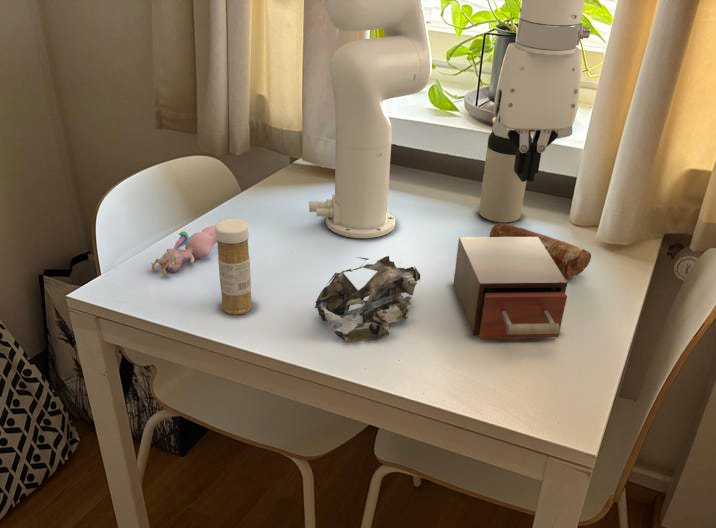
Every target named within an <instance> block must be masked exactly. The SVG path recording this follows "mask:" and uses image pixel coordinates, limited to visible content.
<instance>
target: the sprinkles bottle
mask: <svg viewBox="0 0 716 528" xmlns="http://www.w3.org/2000/svg"><path fill="white" fill-rule="evenodd" d="M248 224H249V223H247V221H245V220H242V219H239V218H226V219H222V220H220V221H218V222H216V223H215V225H214V226H215V237H216V239H217V240H216V241H217V243H216V244H217V262H218V274H219V286H220V293H221V309H222V311H224V312H225V313H227V314H228V315H229V314H230V315H236V316H237V315H244V314H246V313H248V312H250V311H251V310H252V308H253V302H252V275H251V259H250V251H249V237H250V232H249V225H248Z"/></svg>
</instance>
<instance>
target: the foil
mask: <svg viewBox="0 0 716 528" xmlns="http://www.w3.org/2000/svg"><path fill="white" fill-rule="evenodd" d="M356 258H358V259H361V260H364V261H365V262H362V264H361V265H360V266H359V267H356V268H353V269H351V268H349V269H348V268H347V269H346V270H342V271H341V272H334V273H333V275H332V276H331V278H330V279H329V280H328V282H327V284H326V285H325V286H324V287H323V288H322V290H321V291H320V293H319V295H318V297H317V299H316V301H315V305H314V309H317V311H318V316H319V318H320V319H321V320H322V321H326V320H327V322H328V323H329V326H330V327H331V329H332V330H333V331H334V334H335V335H336V336H337V337H339V338H341V339H342V340H343V341H344V342H345V343H353V342H358V341H365V340H373V339H380V338H383V337H385V336H387V335H390V332H389V324H391V323H395V322H396V323H397V322H403V321H407V320H408V319H409V314H410V313H409V306H410V305H412V303H411V300H412V296H414V291H415V288H416V285H418V282H419V281H420V280H421V273H420V272H419V270H418V269H417V267H416V266H415V265H413V266H410V267H407V268H405V267H397V266H396V264H395V261H391V259H390V256H389V255H386V256H384V257H382V258H381V259H379V260H376V262H375V263H371V264H370V263H367V264H365V263H366V261H368V260H369V258H368V257H367V258H365V257H359V256H358V257H357V256H356ZM364 264H365V265H364ZM359 269H366V270H370V271H374V272H375V273H374V275H372V277H371V278H370V279H369V280H368V281H367V282H366V284H364V285H363V286H362V287H361V288H360V289H358V288H357V287H356V286H355V285H354V283H352V281H351V280H350V279H349V278H348V276H347V275H346V274H345V273H347V272H350V273H353V271H357V270H359ZM403 294H407V296H405V297H404V296H403ZM367 297H368V298H367ZM365 298H367V299H366V300H364V299H365ZM355 305H361V306H359V307H357V308H354V309H350V308H351V306H355ZM407 313H408V315H407Z"/></svg>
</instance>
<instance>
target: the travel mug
mask: <svg viewBox="0 0 716 528" xmlns="http://www.w3.org/2000/svg"><path fill="white" fill-rule="evenodd" d="M495 119H496V117H495V116H494V117H493V118H492V120H491V122H492V125H493V124H494V121H495ZM531 133H532V130H529V146H530V143H531V141H532V138H533V136H532V134H531ZM516 150H517V147H516V146H515V144H514V143H513V142H512V141H511V140H510V139H508V138H503V137H500V136H496V135H495V134H494V133H493V132H492V131H491V132H490V134H489V135H488V138H487V144H486V154H485V161H484V168H483V176H482V185H481V191H480V199H479V207H478V214H479V215H480V216H482V218H484V219H486V220H487V221H490V222H495V223H505V224H508V223H513V222H515V221H518V220H520V218H521V215H522V211H523V210H522V209H523V204H524V197H525V192H526V186H527V181H526V182H522V181H521V180H520V179H519V177H518V176H517V174H516V173H515V172H514V164H515V157H516Z"/></svg>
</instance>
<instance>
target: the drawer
mask: <svg viewBox="0 0 716 528" xmlns="http://www.w3.org/2000/svg"><path fill="white" fill-rule="evenodd" d="M556 289H557V288H484V295H483V302H482V309H481V316H480V330H479V336H478V337H479V338H480V340H490V339H491V340H493V339H495V340H496V339H540V338H541V339H542V338H559V336H560V331H561V328H562V327H561V326H562V322H563V317H564V312H565V307H566V304H567V298H568V295H567V293H566V292H556Z"/></svg>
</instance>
